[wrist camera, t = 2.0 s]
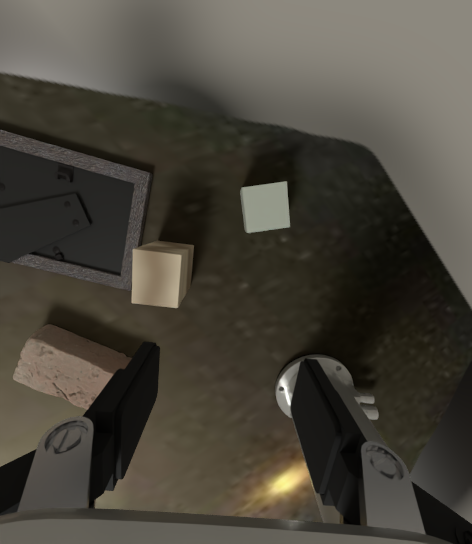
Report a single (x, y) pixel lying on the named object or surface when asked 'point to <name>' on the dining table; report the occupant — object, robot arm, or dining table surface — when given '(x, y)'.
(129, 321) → the dining table surface
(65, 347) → the brick
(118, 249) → the picture frame
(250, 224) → the sage block
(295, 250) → the dining table surface
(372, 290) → the dining table surface
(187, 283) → the maple block
